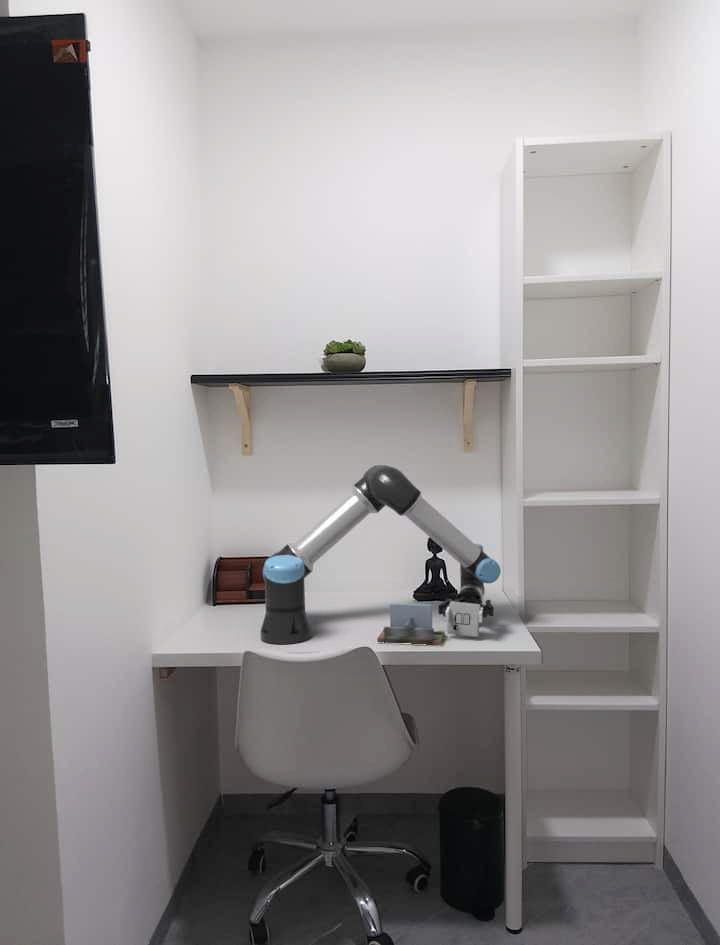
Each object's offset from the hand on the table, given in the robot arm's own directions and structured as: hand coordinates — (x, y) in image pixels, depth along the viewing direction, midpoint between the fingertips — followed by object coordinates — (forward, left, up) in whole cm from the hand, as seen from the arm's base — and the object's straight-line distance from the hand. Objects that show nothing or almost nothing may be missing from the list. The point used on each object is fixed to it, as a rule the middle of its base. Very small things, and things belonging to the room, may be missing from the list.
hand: (463, 617), depth 204 cm
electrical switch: (0, +5, -6) cm, 8 cm away
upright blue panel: (-14, -4, -5) cm, 15 cm away
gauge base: (-15, 0, -7) cm, 17 cm away
